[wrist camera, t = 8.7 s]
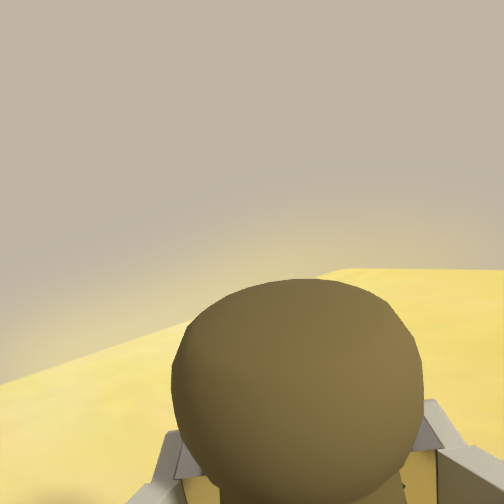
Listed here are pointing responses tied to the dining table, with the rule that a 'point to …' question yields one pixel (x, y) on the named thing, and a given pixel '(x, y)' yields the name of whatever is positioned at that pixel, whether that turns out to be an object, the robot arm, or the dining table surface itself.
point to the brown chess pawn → (300, 395)
